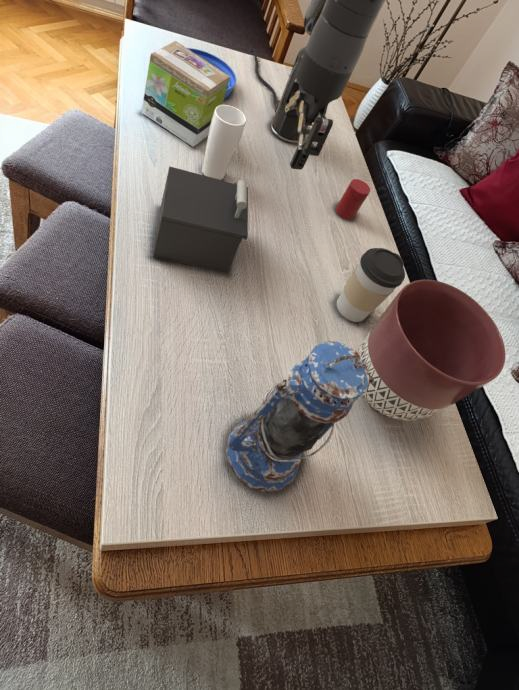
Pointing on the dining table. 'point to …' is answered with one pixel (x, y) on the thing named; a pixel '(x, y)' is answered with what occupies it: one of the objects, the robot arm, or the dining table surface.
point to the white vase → (222, 140)
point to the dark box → (194, 245)
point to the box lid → (206, 203)
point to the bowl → (220, 65)
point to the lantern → (296, 416)
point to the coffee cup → (370, 283)
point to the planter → (429, 351)
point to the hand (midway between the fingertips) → (289, 150)
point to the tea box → (183, 92)
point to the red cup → (352, 199)
